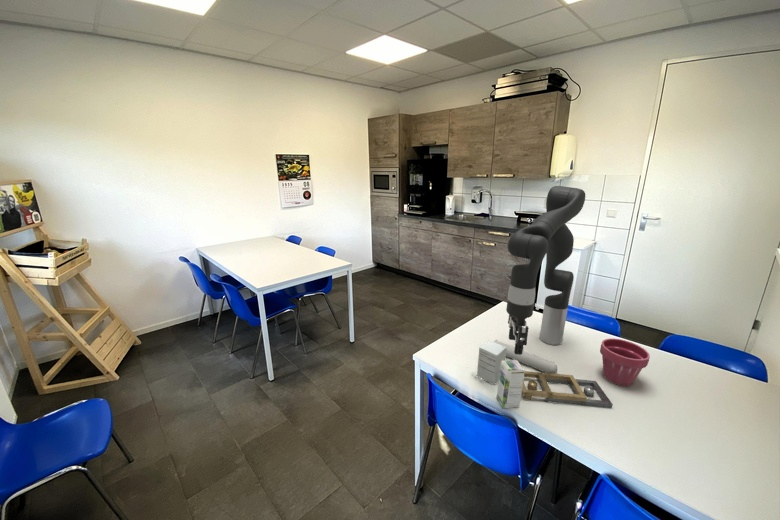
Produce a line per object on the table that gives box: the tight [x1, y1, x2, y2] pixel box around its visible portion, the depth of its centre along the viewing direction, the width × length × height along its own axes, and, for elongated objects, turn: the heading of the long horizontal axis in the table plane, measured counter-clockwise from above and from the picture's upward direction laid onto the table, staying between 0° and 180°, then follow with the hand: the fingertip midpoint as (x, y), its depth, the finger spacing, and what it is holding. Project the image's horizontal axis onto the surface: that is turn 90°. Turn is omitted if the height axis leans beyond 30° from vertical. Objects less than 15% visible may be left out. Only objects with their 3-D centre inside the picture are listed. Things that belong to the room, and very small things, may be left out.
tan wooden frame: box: [521, 370, 588, 402], centre depth 112 cm, size 12×20×3 cm, turn 81°
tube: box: [493, 339, 558, 374], centre depth 128 cm, size 5×5×25 cm
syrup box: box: [496, 359, 526, 409], centre depth 105 cm, size 6×6×14 cm
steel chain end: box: [536, 378, 613, 409], centre depth 111 cm, size 12×20×2 cm, turn 81°
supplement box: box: [476, 339, 507, 386], centre depth 118 cm, size 7×7×13 cm
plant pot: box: [599, 338, 651, 387], centre depth 117 cm, size 14×14×13 cm
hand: (514, 346), depth 101 cm, fingers open, 8 cm apart
